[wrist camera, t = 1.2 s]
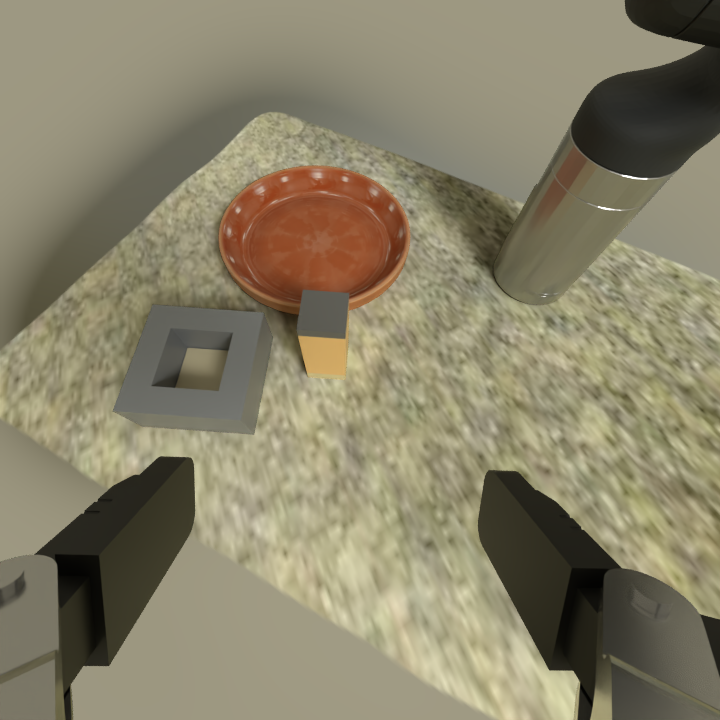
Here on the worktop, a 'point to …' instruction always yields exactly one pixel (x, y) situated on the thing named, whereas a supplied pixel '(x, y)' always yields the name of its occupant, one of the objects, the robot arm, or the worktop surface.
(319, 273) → the saucer
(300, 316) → the plug
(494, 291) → the worktop surface
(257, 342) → the socket block
